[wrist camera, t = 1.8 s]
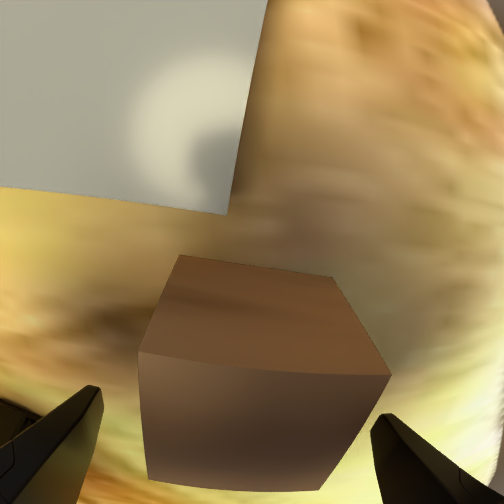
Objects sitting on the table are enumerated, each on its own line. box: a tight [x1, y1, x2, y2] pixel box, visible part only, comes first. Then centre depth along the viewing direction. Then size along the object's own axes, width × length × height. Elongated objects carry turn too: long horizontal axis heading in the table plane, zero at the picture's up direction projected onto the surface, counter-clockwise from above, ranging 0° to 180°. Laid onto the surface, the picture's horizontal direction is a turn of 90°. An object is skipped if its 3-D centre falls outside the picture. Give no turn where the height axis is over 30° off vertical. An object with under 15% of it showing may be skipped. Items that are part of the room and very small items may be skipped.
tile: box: [0, 0, 268, 216], centre depth 7 cm, size 13×13×3 cm
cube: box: [138, 255, 392, 492], centre depth 10 cm, size 6×6×6 cm
